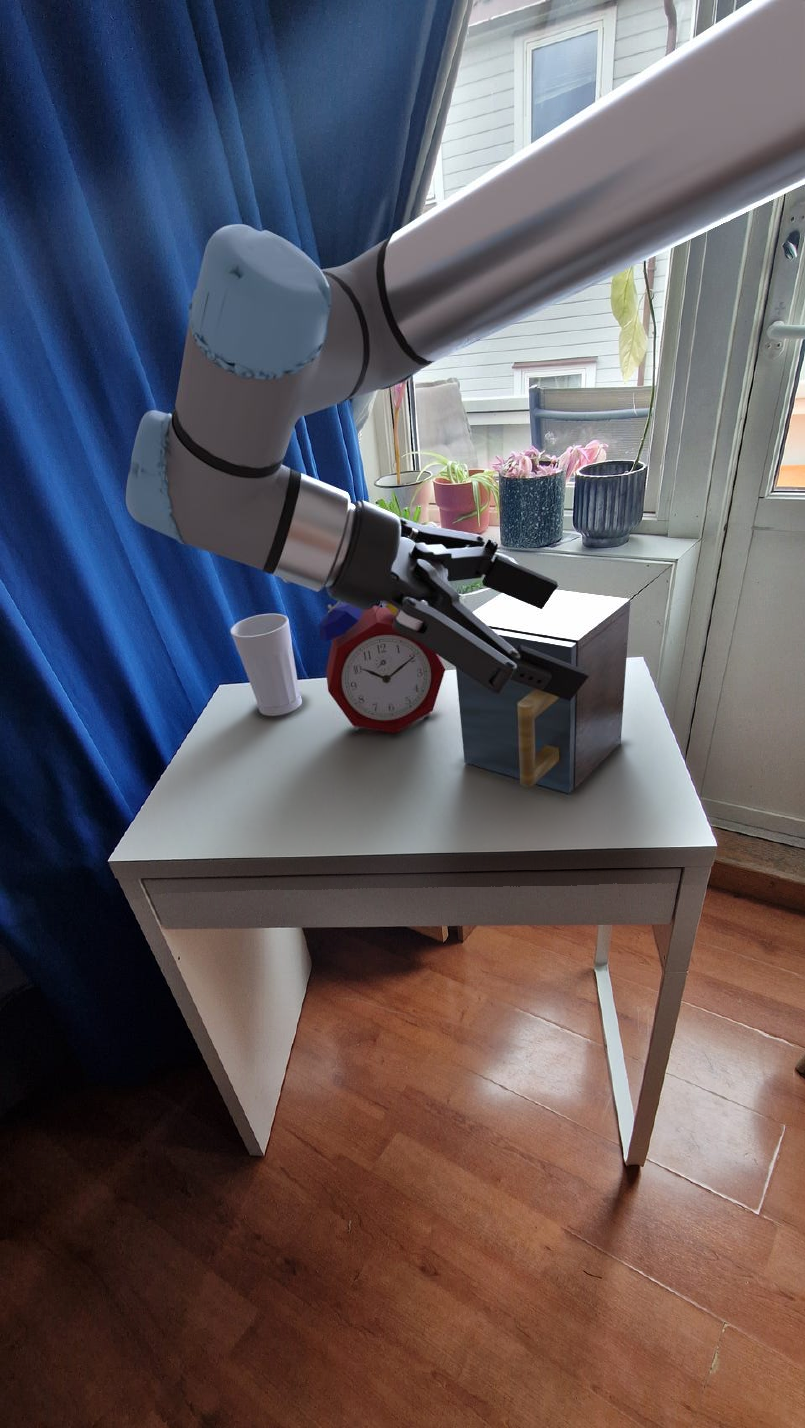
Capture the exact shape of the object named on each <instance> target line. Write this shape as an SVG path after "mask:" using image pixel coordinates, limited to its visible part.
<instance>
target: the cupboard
mask: <svg viewBox="0 0 805 1428" xmlns="http://www.w3.org/2000/svg"><path fill="white" fill-rule="evenodd" d="M471 612H472V613H473V614H475V615H476V616H477V617H478V618H479V619H480V620H482V621H483V622H484V623H485V624H486V625H487V626H489V627H490V628H491V629H495V630H501V631H507V632H513V633H519V634H524V635H530V636H536V637H542V638H548V639H554V640H560V641H566V642H572V643H576V667H579V668H581V669H584V670H586V671H587V672H588V675H589V677H588V679H587V680H586V681H585V682H584V684H583V685H582V686H581V687H580V689H579V690H578V691H577V693H576V694H575V740H574V788H573V790H575V789H577V787H579V785H581V784H582V783H583V781H585V779H587V777H589V776H590V774H592V772H594V771H595V769H597V768H598V766H599V765H600V764H602V763H603V762H604V760H605V759H606V758H607V757H608V756H609V755H611V753H613V752H614V751H615V749H616V748H618V746H619V745H620V744H621V743H622V733H623V732H622V730H623V717H624V716H623V715H624V701H625V688H626V686H625V684H626V672H627V671H626V669H627V658H628V657H627V656H628V643H629V642H628V641H629V627H630V612H631V598H623V597H614V596H606V595H601V594H600V595H598V594H590V593H585V592H584V593H582V592H576V591H566V590H559V589H556V590H555V591H554V593H553V594H552V596H551V597H550V599H549V600H548V602H547V603H546V605H545V606H544V608H543V609H542V610H541V609H539V608H536V607H534V606H531V605H529V604H527V603H524V602H522V601H519V600H517V599H515V598H512V597H510V596H507V595H505V594H503V593H499V594H498V595H497V596H496V597H494V598H493V599H491V600H489V601H488V602H486V603H484V604H483V605H481V606H480V607H478V608H477V609H475V610H474V611H471Z"/></svg>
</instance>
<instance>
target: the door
mask: <svg viewBox="0 0 805 1428" xmlns="http://www.w3.org/2000/svg"><path fill="white" fill-rule="evenodd" d="M492 630H493V631H494V632H496V633H497V634H498V635H499V636H500V637H501V638H503V639H504V640H505V641H506V642H507V643H509V644H510V645H511V646H512V647H513V648H514V649H517V648H518V646H519V645H523V646H525V647H528V648H530V649H533V650H535V651H538V652H540V653H543V654H546V655H548V656H551V657H553V658H556V659H558V660H561V661H563V662H566V663H568V664H571V665H574V666H576V643H572V642H566V641H560V640H554V639H548V638H542V637H536V636H530V635H524V634H519V633H513V632H507V631H501V630H495V629H492ZM455 673H456V685H457V694H458V705H459V717H460V728H461V739H462V749H463V759H464V763H465V764H468V765H471V766H474V767H478V768H482V769H484V770H488V771H491V772H495V773H498V774H501V775H505V776H508V777H512V778H516V779H518V780H519V783H520V785H521V786H523V787H532V786H534V785H539V786H542V787H545V788H549V789H552V790H556V791H559V792H562V793H566V794H570V793H572V792H573V791H574V789H573V788H574V740H575V695H574V696H573V698H572V699H571V700H570V701H568V700H565V699H563V698H560V697H557V696H555V695H552V694H549V693H546V692H544V691H541V690H538V689H535V688H532V687H530V686H528V685H524V684H522V683H519V682H516V681H513V680H509V681H508V682H507V684H506V685H505V687H504V688H503V690H502V691H501V693H499V694H497V693H494V692H492V691H491V690H489V689H488V688H486V687H485V686H483V685H482V684H480V683H479V682H477V681H476V680H474V679H473V678H471V677H470V676H468V675H467V674H465V673H464V672H462V671H461V670H460V669H458V668H457V667H455Z"/></svg>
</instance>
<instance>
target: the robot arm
mask: <svg viewBox="0 0 805 1428" xmlns="http://www.w3.org/2000/svg"><path fill="white" fill-rule="evenodd" d="M802 185H805V0H750V1H749V2H747V3H746V4H744V5H743V6H741V7H740V8H738V9H736V10H735V11H733V12H732V13H730V14H729V15H727V16H726V17H724V18H722V19H721V20H719V21H718V22H716V23H714V24H713V25H712V26H710V27H709V28H707V29H705V30H704V31H703V32H701V33H700V34H698V35H697V36H695V37H693V38H692V39H690V40H689V41H687V42H686V43H684V44H683V45H681V46H680V47H678V48H676V49H675V50H673V51H672V52H670V53H669V54H667V55H666V56H664V57H662V58H661V59H660V60H658V61H656V62H655V63H653V64H652V65H650V66H649V67H648V68H646V69H644V70H643V71H641V72H640V73H638V74H636V75H635V76H634V77H631V78H630V79H628V80H627V81H625V82H624V83H623V84H621V85H620V86H618V87H617V88H615V89H614V90H612V91H610V92H609V93H608V94H606V95H604V96H603V97H601V98H599V99H598V100H596V101H594V102H593V103H592V104H591V105H589V106H587V107H585V108H584V109H583V110H581V111H579V112H578V113H576V114H575V115H574V116H572V117H571V118H569V119H567V120H565V121H564V122H563V123H561V124H559V125H558V126H557V127H555V128H554V129H552V130H551V131H549V132H548V133H546V134H545V135H543V136H541V137H540V138H538V139H537V140H535V141H534V142H532V143H531V144H529V145H528V146H526V147H524V148H523V149H520V150H519V151H518V152H517V153H515V154H514V155H512V156H511V157H509V158H508V159H506V160H504V161H503V162H501V163H500V164H498V165H496V166H495V167H494V168H492V169H491V170H489V171H488V172H486V173H484V174H483V175H481V176H480V177H478V178H477V179H476V180H474V181H472V182H471V183H469V184H468V185H466V186H464V187H463V188H461V189H460V190H459V191H457V192H455V193H453V194H452V195H450V196H449V197H448V198H446V199H444V200H443V201H441V202H439V204H437V205H435V206H434V207H432V208H430V209H429V210H428V211H426V212H424V213H423V214H422V215H420V216H418V217H416V218H415V219H414V220H412V221H411V222H409V223H408V224H406V225H405V226H403V227H402V228H400V229H399V230H396V231H395V232H394V233H392V235H391V236H390V237H388V238H386V239H384V240H382V241H380V242H379V243H378V244H376V245H374V246H373V247H370V249H368V250H367V251H365V252H363V253H362V254H360V255H359V256H358V257H356V258H354V259H352V260H351V261H349V262H347V263H345V264H342V265H339V266H336V267H329V268H323V269H320V267H319V266H318V264H316V263H315V262H314V261H313V260H312V259H311V257H309V256H308V255H307V254H306V253H305V252H304V251H303V250H301V248H299V247H297V246H296V245H295V244H293V243H292V242H290V241H288V240H287V239H285V238H284V237H282V236H279V235H277V234H276V233H273V232H271V231H269V230H267V229H264V230H262V231H261V230H260V231H259V230H258V229H255V228H254V227H252V226H250V225H246V224H240V223H238V224H236V223H235V224H229V225H225V226H223V227H221V228H219V229H217V230H216V231H215V232H214V233H213V234H212V235H211V237H210V238H209V239H208V241H207V244H206V246H205V248H204V254H203V257H202V262H201V266H200V271H199V275H198V279H197V284H196V288H195V289H193V293H192V298H191V300H190V302H189V306H188V307H189V308H188V324H187V325H188V326H187V332H186V337H185V338H186V339H185V344H184V351H183V357H182V363H181V369H180V374H179V375H180V376H179V381H178V386H177V393H176V399H175V404H174V409H173V410H172V413H171V412H169V413H167V412H163V411H160V410H155V409H153V410H148V411H147V412H145V413H144V415H143V416H142V417H141V420H140V423H139V426H138V429H137V432H136V436H135V440H134V444H133V449H132V453H131V458H130V459H131V460H130V467H129V471H128V475H127V482H126V490H125V504H126V505H125V506H126V508H127V511H128V513H129V514H130V516H131V517H132V518H133V519H134V520H135V521H136V522H138V523H139V524H141V525H143V526H145V527H147V528H150V529H152V530H154V531H157V532H158V533H161V534H163V535H165V536H167V537H169V538H172V539H174V540H176V541H177V542H178V543H179V544H181V545H183V546H184V545H185V546H191V547H193V548H196V549H200V550H203V551H206V552H209V553H211V554H214V555H217V556H220V557H224V558H227V559H229V560H232V561H236V562H238V563H241V564H244V565H247V566H249V567H253V568H256V569H258V570H260V571H261V572H264V573H266V574H268V575H272V576H275V577H278V578H280V579H281V580H282V581H283V582H284V583H286V584H292V583H293V584H296V585H299V586H301V587H303V588H306V589H309V590H310V591H311V590H312V591H314V592H317V593H318V592H321V591H322V590H323V589H324V588H326V593H327V594H328V596H329V598H330V599H333V600H336V601H337V602H339V601H341V602H343V603H346V604H349V605H351V606H354V607H357V608H359V609H362V610H364V611H365V610H369V609H371V608H372V607H373V606H376V604H377V603H381V601H386V602H387V603H389V604H391V605H393V606H394V607H396V608H397V609H398V614H397V616H396V618H395V620H394V622H393V624H392V628H393V629H394V630H395V631H396V632H398V633H400V634H402V635H404V636H407V637H409V638H411V639H413V640H416V641H418V642H420V643H421V644H422V645H424V646H425V647H427V648H428V649H430V650H431V651H433V652H434V653H436V654H437V655H439V656H440V658H442V659H443V660H445V661H446V662H448V663H449V664H450V665H452V666H454V667H455V668H456V667H457V668H458V669H460V670H461V671H462V672H464V673H465V674H467V675H468V676H470V677H471V678H473V679H474V680H476V681H477V682H479V683H480V684H482V685H483V686H485V687H486V688H488V689H489V690H491V691H492V692H494V693H497V694H499V693H501V691H502V690H503V688H504V687H505V685H506V684H507V682H508V681H509V680H513V681H516V682H519V683H522V684H524V685H528V686H530V687H532V688H535V689H538V690H541V691H544V692H546V693H549V694H552V695H555V696H557V697H560V698H563V699H565V700H568V701H570V700H571V699H572V698H573V696H574V695H575V694H576V693H577V691H578V690H579V689H580V687H581V686H582V685H583V684H584V682H585V681H586V680H587V679H588V677H589V675H588V672H587V671H586V670H584V669H581V668H579V667H576V666H574V665H571V664H568V663H566V662H563V661H561V660H558V659H556V658H553V657H551V656H548V655H546V654H543V653H540V652H538V651H535V650H533V649H530V648H528V647H525V646H523V645H519V646H518V648H517V649H514V648H513V647H512V646H511V645H510V644H509V643H507V642H506V641H505V640H504V639H503V638H501V637H500V636H499V635H498V634H497V633H496V632H494V631H493V630H492V629H491V628H490V627H489V626H487V625H486V624H485V623H484V622H483V621H482V620H480V619H479V618H478V617H477V616H476V615H475V614H473V613H472V612H473V611H471V610H470V609H469V608H468V607H467V606H465V604H463V603H462V602H461V601H460V594H459V592H458V591H457V590H456V589H455V588H453V586H451V583H450V582H458V581H466V580H474V579H476V580H477V579H481V578H482V577H483V576H484V577H483V578H482V581H481V583H482V586H483V587H485V588H488V589H491V590H493V591H496V592H497V593H499V594H502V593H503V594H505V595H507V596H510V597H512V598H515V599H517V600H519V601H522V602H524V603H527V604H529V605H531V606H534V607H536V608H539V609H541V610H542V609H543V608H544V606H545V605H546V603H547V602H548V600H549V599H550V597H551V596H552V594H553V593H554V591H555V590H557V588H558V587H559V583H558V581H557V580H554V579H552V578H550V577H548V576H545V575H543V574H541V573H538V572H536V571H533V570H531V569H529V568H527V567H524V566H523V565H520V564H518V563H515V562H513V561H511V560H508V559H506V558H504V557H501V556H499V555H496V553H497V551H498V550H499V547H500V545H499V544H498V543H497V542H496V541H495V540H494V539H490V538H488V539H487V540H486V538H484V537H485V536H483V535H481V534H477V533H472V532H467V531H460V530H454V529H448V528H443V527H438V526H437V527H436V526H431V525H424V524H420V523H417V522H414V521H412V520H409V519H406V518H404V517H402V516H401V517H400V516H398V515H396V514H395V513H393V512H391V511H388V510H386V509H384V508H382V507H379V506H377V505H375V504H373V503H370V502H368V501H365V500H364V499H359V500H356V501H354V502H353V503H351V501H352V500H351V497H350V495H349V493H348V492H347V491H345V490H342V489H340V488H337V487H335V486H333V485H330V484H329V483H326V482H323V481H321V480H318V479H317V478H314V477H311V476H309V475H307V474H304V473H302V472H299V471H296V470H294V469H291V468H290V467H288V466H286V465H284V464H283V463H284V460H285V456H286V453H287V450H288V447H289V444H290V441H291V439H292V435H293V432H294V429H295V426H296V423H297V422H298V420H299V419H300V418H302V417H304V416H308V415H311V414H314V413H317V412H319V411H323V410H325V409H328V408H330V407H333V406H337V405H338V404H342V403H345V402H346V401H348V400H350V399H351V400H352V399H353V398H357V397H360V396H363V395H366V394H369V393H372V392H375V391H378V390H381V391H383V390H387V389H390V388H392V387H395V386H397V385H400V384H402V383H404V382H406V381H408V380H409V379H411V378H412V377H413V376H414V375H416V374H418V373H419V372H420V371H421V370H423V369H425V368H426V367H429V366H430V365H432V364H433V363H435V362H438V361H439V360H441V359H443V358H445V357H448V356H450V355H452V354H454V353H456V352H458V351H459V350H462V349H464V348H466V347H468V346H470V345H472V344H474V343H476V342H477V343H478V342H479V341H481V340H483V339H485V338H487V337H489V336H491V335H492V334H495V333H497V332H499V331H501V330H505V328H508V327H510V326H512V325H514V324H516V323H519V322H520V321H523V320H524V319H526V318H529V317H530V316H533V315H535V314H537V313H539V312H542V311H543V310H545V309H547V308H549V307H551V306H554V305H555V304H557V303H560V302H562V301H564V300H567V299H568V298H570V297H572V296H574V295H576V294H579V293H580V292H582V291H584V290H587V289H588V288H591V287H594V286H595V285H597V284H599V283H601V282H603V281H605V280H608V279H609V278H611V277H613V276H616V275H618V274H620V273H622V272H624V271H627V270H629V269H630V268H632V267H635V266H637V265H638V264H641V263H643V262H645V261H647V260H649V259H651V258H653V257H655V256H658V255H659V254H661V253H663V252H665V251H667V250H670V249H672V248H674V247H676V246H678V245H681V244H682V243H685V242H686V241H688V240H691V239H693V238H695V237H697V236H700V235H702V234H703V233H705V232H707V231H709V230H712V229H713V228H714V229H715V227H718V226H720V225H721V224H723V223H726V222H729V221H730V220H732V219H734V218H736V217H739V216H741V215H743V214H745V213H746V212H749V211H751V210H753V209H755V208H757V207H759V206H762V205H764V204H766V203H768V202H769V201H772V200H774V199H776V198H778V197H780V196H783V195H784V194H786V193H788V192H790V191H792V190H794V189H796V188H797V189H798V188H799V187H801V186H802ZM343 603H342V604H343Z"/></svg>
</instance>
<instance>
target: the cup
mask: <svg viewBox="0 0 805 1428" xmlns="http://www.w3.org/2000/svg"><path fill="white" fill-rule="evenodd" d="M230 635H231V638H232V640H233V642H234V645H235V648H236V650H237V653H238V655H239V657H240V660H241V662H242V665H243V668H244V670H245V673H246V676H247V679H248V681H249V684H250V686H251V689H252V691H253V695H254V698H255V701H256V703H257V706H258V707H257V708H258V710H259V713H261V714H262V715H264V716H269V717H276V716H277V717H278V716H283V715H287V714H289V713H292V712H294V711H295V710H297V709H299V708H300V707H301V705H302V703H303V700H302V696H301V691H300V688H299V682H298V676H297V675H298V674H297V669H296V662H295V656H294V650H293V644H292V643H293V641H292V635H291V627H290V621H289V617H288V616H287V615H285V614H281V613H263V614H257V615H253V616H250V617H246V618H244V619H242V620H240V621H238V622H236V623H235V624H233V625H232V626H231V628H230Z"/></svg>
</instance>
